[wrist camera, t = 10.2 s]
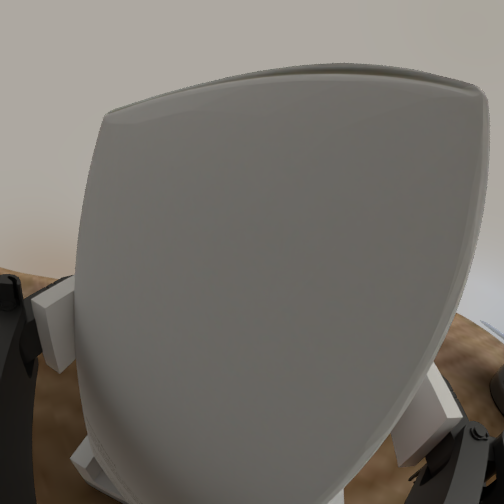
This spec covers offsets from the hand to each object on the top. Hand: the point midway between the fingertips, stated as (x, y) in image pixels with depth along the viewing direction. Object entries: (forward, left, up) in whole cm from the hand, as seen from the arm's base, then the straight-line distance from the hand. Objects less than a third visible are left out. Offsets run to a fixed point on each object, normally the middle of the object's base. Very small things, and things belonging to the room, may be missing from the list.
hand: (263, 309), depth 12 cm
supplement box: (-4, +3, -8) cm, 10 cm away
